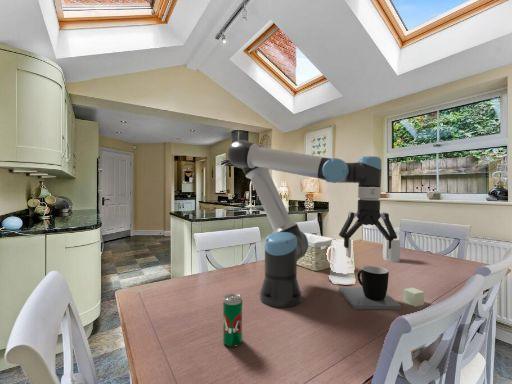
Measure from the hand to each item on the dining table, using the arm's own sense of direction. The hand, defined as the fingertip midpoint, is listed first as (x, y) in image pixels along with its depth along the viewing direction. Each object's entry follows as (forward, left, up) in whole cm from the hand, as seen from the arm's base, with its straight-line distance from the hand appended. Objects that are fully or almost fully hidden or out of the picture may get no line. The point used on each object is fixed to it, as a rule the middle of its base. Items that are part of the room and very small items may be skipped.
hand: (366, 257), depth 94 cm
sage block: (+15, -3, -15) cm, 22 cm away
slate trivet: (0, 0, -15) cm, 15 cm away
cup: (+35, +51, -16) cm, 64 cm away
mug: (+2, 0, -14) cm, 14 cm away
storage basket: (-13, +42, -16) cm, 47 cm away
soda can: (-47, -27, -16) cm, 56 cm away
